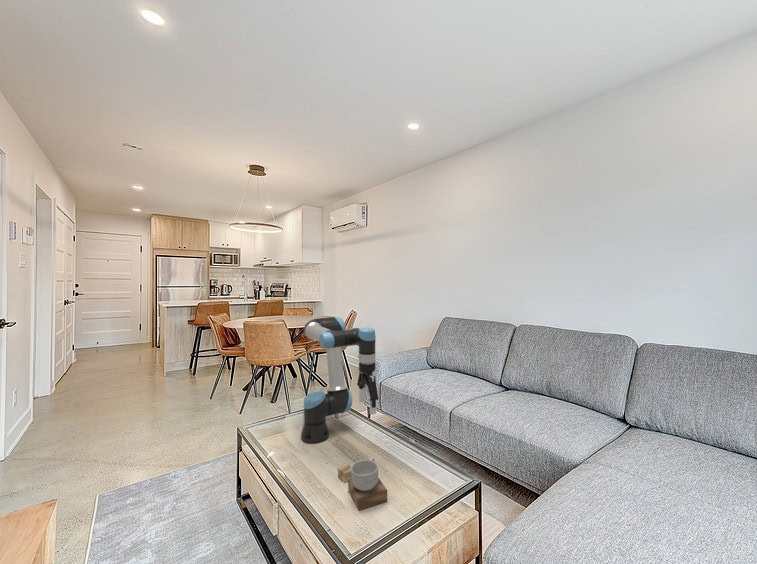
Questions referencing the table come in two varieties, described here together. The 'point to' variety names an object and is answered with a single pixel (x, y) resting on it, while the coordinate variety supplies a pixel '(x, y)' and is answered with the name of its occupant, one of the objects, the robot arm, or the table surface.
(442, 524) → the table surface
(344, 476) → the oak cube
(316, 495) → the table surface
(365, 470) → the teacup
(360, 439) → the table surface
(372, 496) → the pedestal block
